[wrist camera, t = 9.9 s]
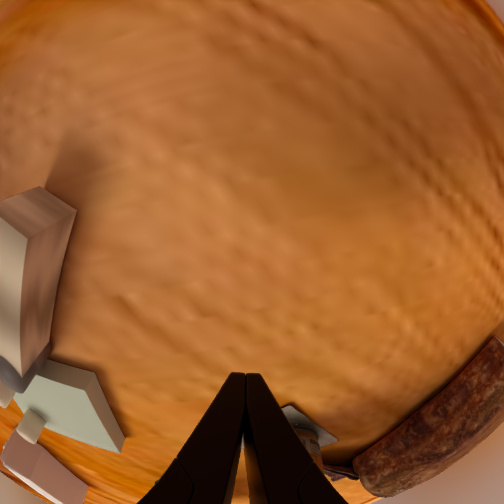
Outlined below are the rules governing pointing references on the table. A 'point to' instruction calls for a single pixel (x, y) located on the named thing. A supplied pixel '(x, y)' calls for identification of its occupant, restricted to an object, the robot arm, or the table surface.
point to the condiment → (308, 434)
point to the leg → (29, 280)
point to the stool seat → (65, 407)
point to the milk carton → (42, 471)
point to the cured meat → (435, 430)
